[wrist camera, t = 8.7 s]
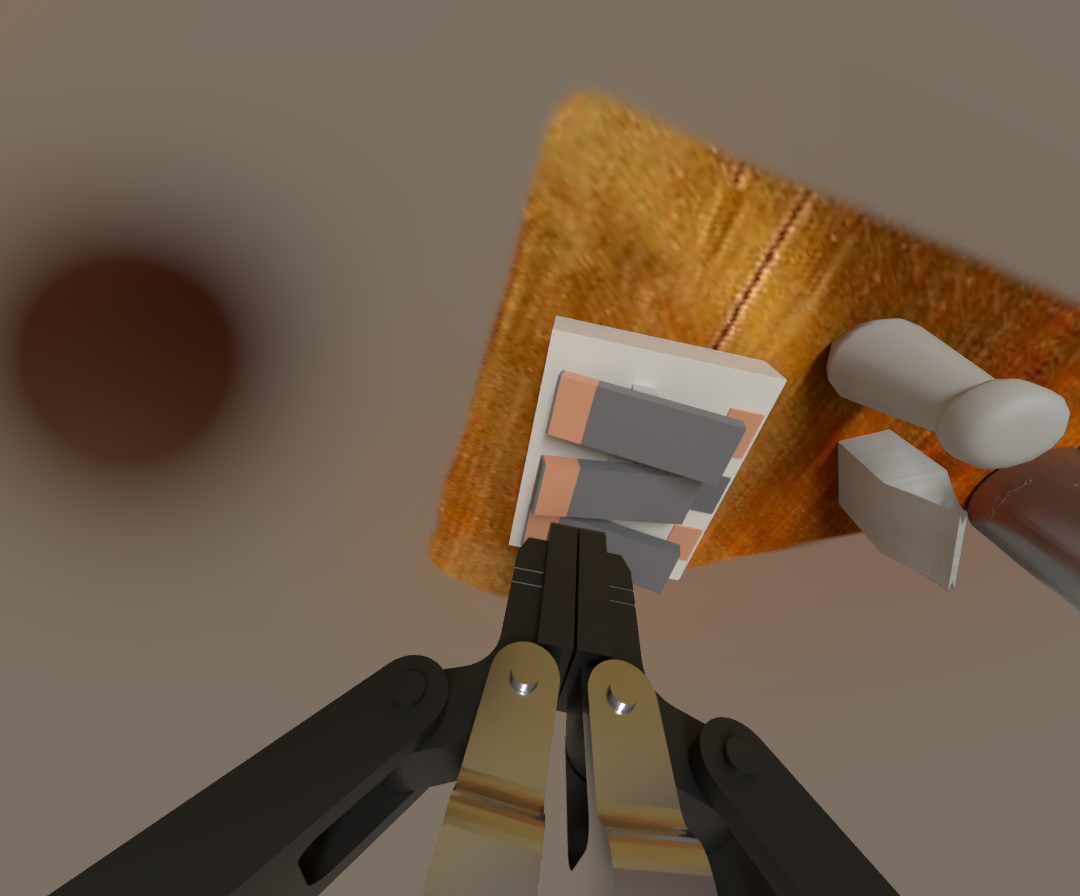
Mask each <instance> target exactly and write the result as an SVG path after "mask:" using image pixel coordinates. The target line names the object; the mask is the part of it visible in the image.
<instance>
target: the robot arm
mask: <svg viewBox="0 0 1080 896" xmlns="http://www.w3.org/2000/svg"><path fill="white" fill-rule="evenodd" d="M967 513H968V519H969V521H970V522H971V524H972V526H974V527H975V528H976V529H977V530H978V531H980V532H981V533H982V534H983V535H984V536H986V537H987V538H988V539H989V540H991V541H992V542H993V543H994V544H995V545H997V546H998V547H999V548H1000V549H1001V550H1003V551H1004V552H1005V553H1006V554H1007V555H1009V556H1010V557H1011V558H1012V559H1013V560H1014V561H1016V562H1017V563H1018V564H1019V565H1020V566H1022V567H1023V568H1024V569H1025V570H1027V571H1028V572H1029V573H1030V574H1031V575H1033V576H1034V577H1035V578H1036V579H1038V580H1039V581H1040V582H1041V583H1043V584H1044V585H1045V586H1046V587H1047V588H1049V589H1050V590H1051V591H1052V592H1054V593H1055V594H1056V595H1057V596H1058V597H1060V598H1061V599H1062V600H1063V601H1065V602H1066V603H1067V604H1068V605H1069V606H1071V607H1072V608H1073V609H1074V610H1076V611H1077V612H1078V613H1079V614H1080V449H1072V448H1061V449H1052V450H1048V451H1046V452H1044V453H1043V454H1041V455H1040V456H1038V457H1036V458H1035V459H1033V460H1031V461H1028V462H1025V463H1021V464H1018V465H1015V466H1012V467H1007V468H1001V469H999V470H998V471H996V472H995V473H993V474H992V475H991V476H990V477H988V478H987V479H986V480H985V481H984V482H983V483H982V484H981V485H980V486H979V487H978V489H977V490H976V491H975V492H974V494H973V496H972V498H971V500H970V502H969V505H968V510H967ZM634 604H635V601H634V594H633V586H632V576H631V571H630V569H629V567H628V566H627V564H626V562H625V561H624V559H623V557H622V555H618V554H613V553H608V552H607V545H606V534H605V532H601V531H596V530H591V529H586V528H581V527H578V529H577V527H575V526H570V525H565V524H560V523H555V522H551V523H550V527H549V531H548V535H547V539H546V540H541V539H536V538H531V537H528V539H527V540H526V541H525V542H524V543H523V545H522V546H521V547H520V548H519V549H518V554H517V558H516V563H515V568H514V573H513V578H512V583H511V588H510V593H509V598H508V603H507V608H506V612H505V617H504V622H503V628H502V632H501V636H500V640H499V642H498V644H497V646H496V647H495V649H494V650H493V651H492V652H491V653H490V654H489V655H488V656H487V657H486V658H484V659H483V660H481V661H479V662H477V663H475V664H472V665H468V666H463V667H456V668H449V669H442V668H441V666H440V665H439V664H438V663H437V662H435V661H434V660H432V659H430V658H428V657H425V656H420V655H409V656H404V657H401V658H399V659H396V660H394V661H392V662H391V663H389V664H387V665H386V666H385V667H383V668H381V669H380V670H379V671H377V672H376V673H374V674H373V675H371V676H370V677H368V678H367V679H365V680H364V681H362V682H361V683H359V684H358V685H356V686H355V687H354V688H352V689H351V690H349V691H348V692H346V693H345V694H343V695H342V696H340V697H339V698H337V699H336V700H334V701H333V702H332V703H330V704H329V705H327V706H326V707H324V708H323V709H321V710H320V711H318V712H317V713H316V714H314V715H312V716H311V717H310V718H308V719H307V720H305V721H304V722H302V723H301V724H299V725H298V726H296V727H295V728H293V729H292V730H290V731H289V732H287V733H286V734H284V735H283V736H282V737H280V738H279V739H277V740H276V741H274V742H273V743H271V744H270V745H268V746H267V747H265V748H264V749H262V750H261V751H260V752H258V753H257V754H255V755H254V756H252V757H251V758H249V759H248V760H246V761H245V762H244V763H242V764H241V765H239V766H238V767H236V768H235V769H233V770H232V771H230V772H229V773H227V774H226V775H224V776H223V777H221V778H220V779H218V780H217V781H215V782H214V783H212V784H211V785H210V786H208V787H207V788H205V789H204V790H202V791H201V792H199V793H198V794H196V795H195V796H193V797H192V798H190V799H189V800H188V801H186V802H185V803H183V804H182V805H180V806H179V807H177V808H176V809H174V810H173V811H171V812H170V813H169V814H167V815H166V816H164V817H163V818H161V819H160V820H158V821H157V822H156V823H154V824H152V825H151V826H149V827H148V828H146V829H145V830H143V831H142V832H141V833H139V834H138V835H136V836H135V837H133V838H132V839H130V840H129V841H127V842H126V843H124V844H123V845H121V846H120V847H118V848H117V849H116V850H114V851H113V852H111V853H110V854H108V855H107V856H105V857H104V858H102V859H101V860H99V861H98V862H96V863H95V864H93V865H92V866H91V867H89V868H88V869H86V870H85V871H83V872H82V873H80V874H79V875H77V876H76V877H74V878H73V879H71V880H70V881H69V882H67V883H66V884H64V885H63V886H61V887H60V888H58V889H57V890H55V891H54V892H52V893H51V894H50V895H48V896H318V895H319V894H320V893H321V892H322V891H323V890H324V889H325V888H326V887H327V886H329V884H331V883H332V882H333V881H334V880H335V878H337V877H338V876H339V875H340V874H341V873H342V872H343V871H344V870H345V869H346V868H347V867H348V866H349V865H350V864H351V863H352V862H353V861H354V860H355V859H356V858H357V857H358V856H359V855H360V854H361V853H362V852H363V851H364V850H365V849H367V848H368V847H369V846H370V845H371V844H372V843H373V842H374V841H375V840H376V839H377V838H378V837H379V836H380V835H381V834H382V833H383V832H384V831H385V830H386V829H387V828H388V827H389V826H390V825H391V824H392V823H393V822H394V821H395V820H396V819H397V818H398V817H399V816H400V815H401V814H402V813H404V812H405V811H406V809H408V808H409V807H410V806H411V805H412V804H413V803H414V802H415V801H416V800H417V799H418V798H419V797H420V796H421V795H422V794H423V793H424V792H425V791H426V790H427V789H428V788H429V787H432V786H436V785H440V784H444V783H449V782H453V781H457V782H456V785H455V787H454V789H453V791H452V794H451V797H450V800H449V803H448V806H447V809H446V812H445V816H444V819H443V822H442V825H441V829H440V832H439V835H438V839H437V842H436V845H435V849H434V852H433V855H432V859H431V862H430V866H429V869H428V872H427V876H426V879H425V883H424V886H423V889H422V893H421V896H537V892H538V884H539V875H540V867H541V860H542V851H543V843H544V832H545V814H544V798H545V790H546V783H547V775H548V768H549V760H550V753H551V745H552V738H553V730H554V723H555V715H556V710H557V711H562V712H567V720H566V735H565V737H564V739H563V742H562V746H561V808H562V809H561V810H562V811H561V812H562V877H561V885H560V890H559V896H900V895H899V894H898V893H897V892H896V891H895V889H894V888H893V887H892V886H891V885H890V884H889V883H888V882H887V880H886V879H885V878H884V877H883V876H882V875H881V874H880V873H879V872H878V870H877V869H876V868H875V867H874V866H873V865H872V864H871V863H870V861H869V860H868V859H867V858H866V857H865V856H864V855H863V854H862V852H861V851H860V850H859V849H858V848H857V847H856V846H855V845H854V843H853V842H852V841H851V840H850V839H849V838H848V837H847V836H846V835H845V833H844V832H843V831H842V830H841V829H840V828H839V827H838V826H837V824H836V823H835V822H834V821H833V820H832V819H831V818H830V817H829V815H828V814H827V813H826V812H825V811H824V810H823V809H822V808H821V806H820V805H819V804H818V803H817V802H816V801H815V800H814V799H813V797H811V795H810V794H809V793H808V792H807V791H806V790H805V789H804V787H803V786H802V785H801V784H800V783H799V782H798V781H797V780H796V779H795V777H794V776H793V775H792V774H791V773H790V772H789V771H788V770H787V768H786V767H785V766H784V765H783V764H782V763H781V762H780V761H779V759H778V758H777V757H776V756H775V755H774V754H773V753H772V752H771V750H769V748H768V747H767V746H766V745H765V744H764V743H763V742H762V740H761V739H760V738H759V737H758V736H757V735H756V734H755V733H754V732H753V731H752V730H750V729H749V728H748V727H746V726H745V725H743V724H742V723H740V722H738V721H736V720H733V719H730V718H725V717H719V718H714V719H711V720H710V721H708V722H707V723H706V724H704V723H702V722H700V721H699V720H697V719H695V718H693V717H691V716H690V715H688V714H686V713H684V712H682V711H680V710H679V709H677V708H675V707H673V706H672V705H670V704H669V703H667V702H666V701H665V700H664V699H663V698H662V697H661V696H660V695H659V694H658V693H657V692H656V691H655V690H654V688H653V686H652V684H651V683H650V681H649V679H648V678H647V677H646V675H645V672H644V669H643V665H642V659H641V650H640V643H639V634H638V626H637V617H636V609H635V607H634Z"/></svg>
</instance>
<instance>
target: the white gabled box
mask: <svg viewBox="0 0 1080 896" xmlns="http://www.w3.org/2000/svg"><path fill="white" fill-rule="evenodd" d="M838 486H839V505H840V506H841V507H842V508H843V510H844V511H845V512H846V513H847V514H848V515H849V517H850V518H851V519H852V520H853V521H854V522H855V523H856V525H857V526H858V527H859V528H860V529H861V530H862V532H863V533H864V534H865V535H866V536H867V537H868V538H869V540H870V541H871V542H872V543H873V544H874V545H875V547H876V548H877V549H878V550H879V551H880V552H881V553H883V554H885V555H887V556H889V557H890V558H893V559H894V560H896V561H898V562H900V563H902V564H904V565H906V566H907V567H910V568H911V569H913V570H915V571H917V572H919V573H921V574H922V575H924V576H926V577H927V578H929V579H931V580H932V581H934V582H936V583H937V584H939V585H940V586H941V587H943V588H944V589H945V590H947V591H948V590H949V588H950V586H952V588H953V590H954V588H955V583H956V577H957V572H958V566H959V560H960V555H961V549H962V542H963V537H964V532H965V526H966V520H967V514H966V512H965V511H964V510H963V509H962V508H961V506H960V504H959V502H958V500H957V499H956V497H955V495H954V492H953V488H952V485H951V482H950V479H949V476H948V473H947V470H945V469H944V468H943V467H941V466H940V465H938V464H937V463H936V462H934V461H933V460H932V459H930V458H929V457H927V456H926V455H925V454H923V453H922V452H920V451H919V450H918V449H916V448H915V447H913V446H912V445H911V444H909V443H908V442H906V441H905V440H904V439H902V438H901V437H899V436H898V435H897V434H895V433H894V432H893V431H891V430H885V431H881V432H877V433H872V434H868V435H864V436H859V437H855V438H850V439H846V440H842V441H838Z"/></svg>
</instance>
